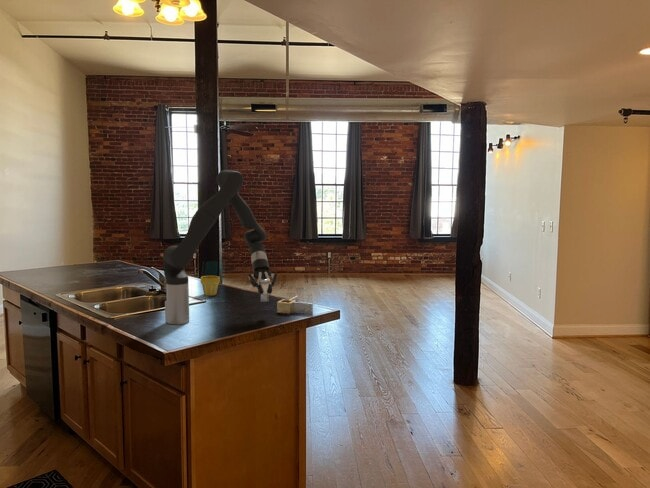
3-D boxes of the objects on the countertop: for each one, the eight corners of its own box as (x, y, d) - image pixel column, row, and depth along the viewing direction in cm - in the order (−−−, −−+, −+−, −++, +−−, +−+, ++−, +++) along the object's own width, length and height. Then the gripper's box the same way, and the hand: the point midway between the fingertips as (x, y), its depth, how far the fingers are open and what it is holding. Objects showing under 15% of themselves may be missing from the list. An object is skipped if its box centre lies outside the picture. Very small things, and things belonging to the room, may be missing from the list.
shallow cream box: (277, 312, 229) (277, 302, 228) (291, 305, 244) (291, 295, 244) (309, 315, 223) (309, 305, 223) (322, 307, 239) (322, 297, 238)
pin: (257, 301, 219) (257, 279, 218) (262, 299, 223) (262, 278, 223) (267, 302, 217) (267, 280, 216) (271, 300, 222) (271, 278, 221)
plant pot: (218, 291, 276) (217, 274, 275) (221, 295, 267) (221, 277, 266) (199, 293, 272) (199, 276, 271) (202, 296, 263) (202, 279, 262)
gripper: (246, 258, 223) (251, 289, 213) (276, 257, 228) (282, 287, 218) (243, 268, 229) (249, 298, 218) (273, 267, 233) (279, 297, 223)
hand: (265, 293), depth 218 cm, fingers closed on pin, 3 cm apart
